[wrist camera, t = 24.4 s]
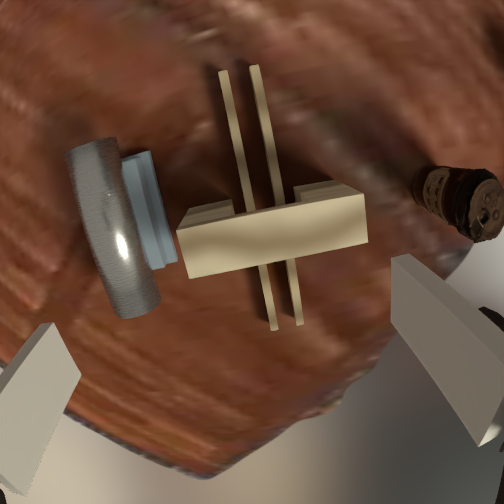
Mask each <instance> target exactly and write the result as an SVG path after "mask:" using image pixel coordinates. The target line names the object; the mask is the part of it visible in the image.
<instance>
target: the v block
mask: <svg viewBox="0 0 504 504" xmlns="http://www.w3.org/2000/svg"><path fill="white" fill-rule="evenodd" d="M121 161H122V166H123V170H124V174H125V178H126V182H127V186H128V190H129V193H130V197H131V201H132V205H133V208H134V212H135V215H136V219H137V223H138V226H139V229H140V233H141V236H142V240H143V243H144V246H145V249H146V253H147V256H148V259H149V262H150V265H151V268H152V270H154V269H159V268H163V267H165V265H166V264H168V263H172V262H177V260H178V256H177V253H176V249H175V246H174V242H173V239H172V235H171V232H170V228H169V224H168V220H167V217H166V213H165V209H164V205H163V201H162V197H161V193H160V190H159V185H158V181H157V177H156V173H155V169H154V165H153V160H152V156H151V152H150V151H146V152H142V153H139V154H135V155H132V156H129V157H125V158H122V159H121Z"/></svg>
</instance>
